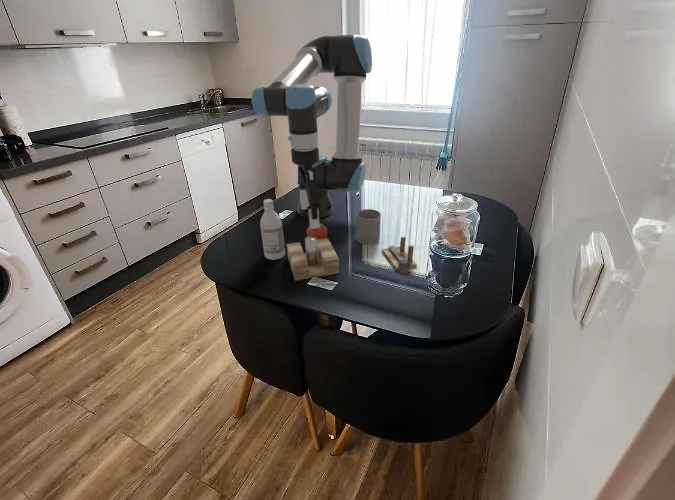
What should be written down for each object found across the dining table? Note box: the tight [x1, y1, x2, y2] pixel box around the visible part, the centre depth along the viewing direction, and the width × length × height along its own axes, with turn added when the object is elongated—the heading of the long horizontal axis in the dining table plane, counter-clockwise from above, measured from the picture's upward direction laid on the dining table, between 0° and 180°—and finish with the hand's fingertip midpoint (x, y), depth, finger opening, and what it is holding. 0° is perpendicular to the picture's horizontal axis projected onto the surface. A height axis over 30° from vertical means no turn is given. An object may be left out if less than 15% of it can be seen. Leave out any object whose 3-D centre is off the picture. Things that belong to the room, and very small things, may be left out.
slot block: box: [286, 237, 340, 281], centre depth 116 cm, size 14×14×5 cm
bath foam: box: [259, 198, 286, 261], centre depth 118 cm, size 7×7×20 cm
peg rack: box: [381, 236, 418, 271], centre depth 117 cm, size 13×7×6 cm, turn 15°
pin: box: [304, 236, 318, 266], centre depth 114 cm, size 4×4×9 cm
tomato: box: [306, 222, 328, 240], centre depth 129 cm, size 7×7×8 cm
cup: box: [356, 208, 382, 246], centre depth 129 cm, size 8×8×10 cm
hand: (309, 217), depth 109 cm, fingers open, 13 cm apart
